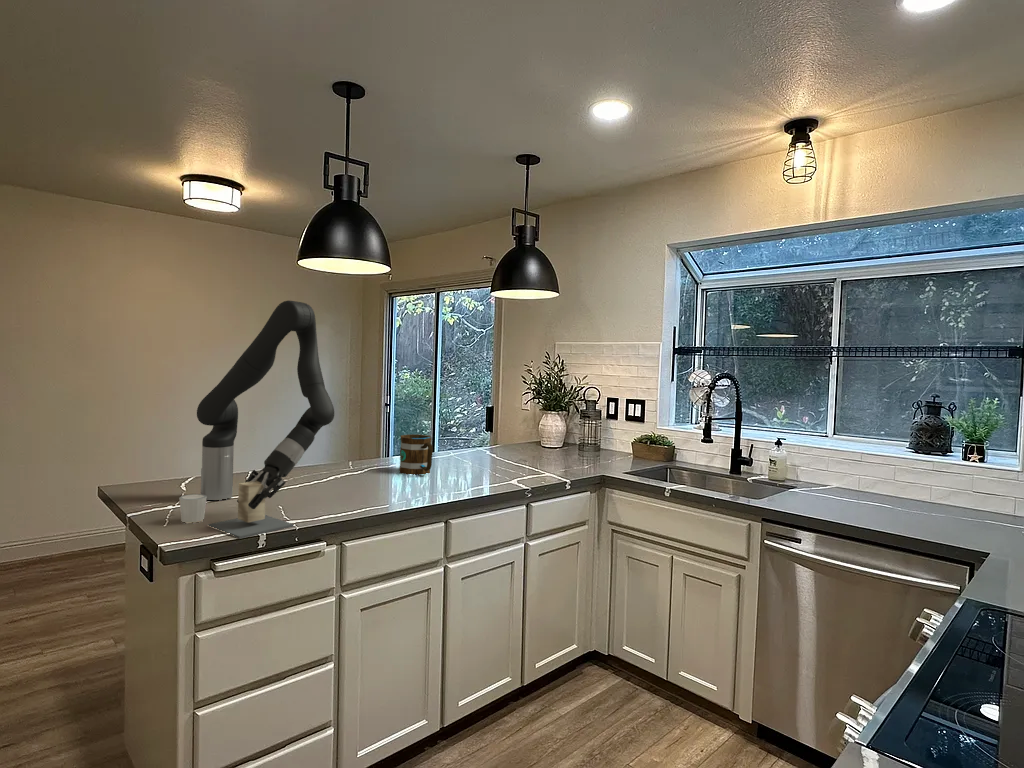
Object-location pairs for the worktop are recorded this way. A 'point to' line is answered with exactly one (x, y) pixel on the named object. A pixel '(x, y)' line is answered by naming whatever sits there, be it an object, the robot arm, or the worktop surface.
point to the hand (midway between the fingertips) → (245, 505)
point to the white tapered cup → (192, 507)
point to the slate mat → (250, 526)
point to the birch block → (244, 498)
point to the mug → (415, 454)
